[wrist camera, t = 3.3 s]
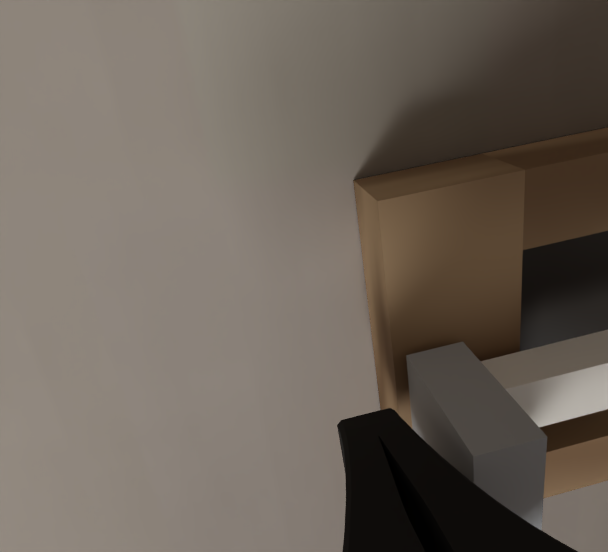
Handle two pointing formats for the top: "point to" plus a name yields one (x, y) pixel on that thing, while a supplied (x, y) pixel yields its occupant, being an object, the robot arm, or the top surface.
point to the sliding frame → (505, 410)
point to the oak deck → (493, 270)
